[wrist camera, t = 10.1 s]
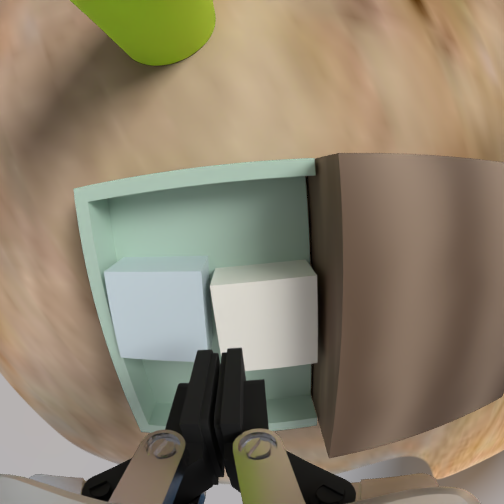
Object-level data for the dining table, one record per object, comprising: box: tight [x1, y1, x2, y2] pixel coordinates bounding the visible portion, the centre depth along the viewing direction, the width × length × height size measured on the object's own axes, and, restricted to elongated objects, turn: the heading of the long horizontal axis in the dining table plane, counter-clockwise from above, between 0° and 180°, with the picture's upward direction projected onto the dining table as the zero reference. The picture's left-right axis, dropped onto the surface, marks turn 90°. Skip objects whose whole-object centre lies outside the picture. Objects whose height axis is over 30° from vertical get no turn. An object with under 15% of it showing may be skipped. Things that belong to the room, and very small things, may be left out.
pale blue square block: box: [104, 256, 213, 362], centre depth 16 cm, size 5×5×3 cm
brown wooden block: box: [307, 153, 504, 458], centre depth 15 cm, size 14×16×6 cm
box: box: [74, 158, 317, 433], centre depth 16 cm, size 12×16×3 cm
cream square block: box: [210, 259, 318, 371], centre depth 16 cm, size 5×5×3 cm
